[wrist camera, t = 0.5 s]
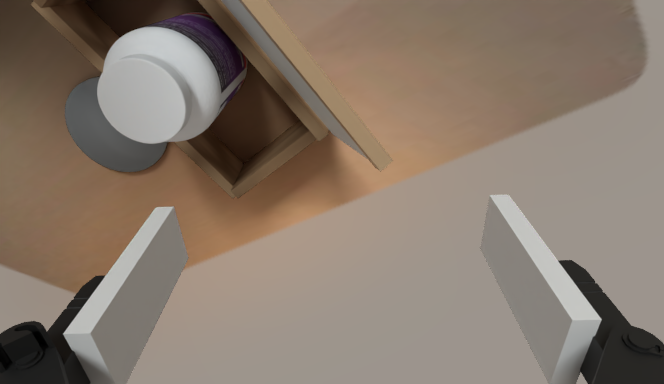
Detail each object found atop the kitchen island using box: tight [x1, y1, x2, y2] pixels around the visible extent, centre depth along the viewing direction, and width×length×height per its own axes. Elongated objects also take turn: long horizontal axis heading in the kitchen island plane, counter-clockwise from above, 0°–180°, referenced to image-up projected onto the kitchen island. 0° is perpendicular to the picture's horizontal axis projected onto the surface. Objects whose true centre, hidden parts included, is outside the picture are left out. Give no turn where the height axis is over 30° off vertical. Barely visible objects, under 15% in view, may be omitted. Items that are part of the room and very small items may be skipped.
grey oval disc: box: [65, 76, 168, 172], centre depth 41 cm, size 10×10×1 cm
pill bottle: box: [97, 12, 247, 144], centre depth 31 cm, size 8×8×14 cm
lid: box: [221, 0, 393, 171], centre depth 23 cm, size 22×12×1 cm
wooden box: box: [31, 0, 328, 198], centre depth 35 cm, size 22×12×7 cm, turn 38°
